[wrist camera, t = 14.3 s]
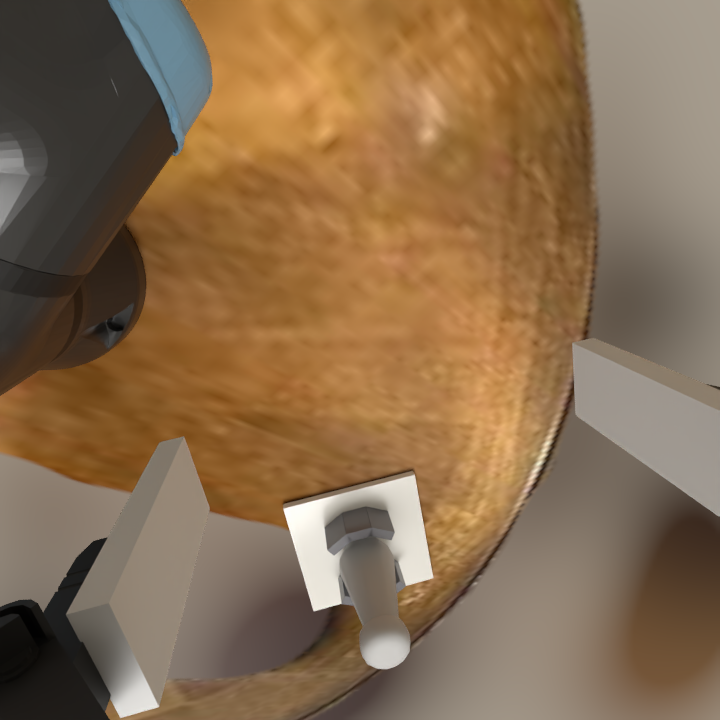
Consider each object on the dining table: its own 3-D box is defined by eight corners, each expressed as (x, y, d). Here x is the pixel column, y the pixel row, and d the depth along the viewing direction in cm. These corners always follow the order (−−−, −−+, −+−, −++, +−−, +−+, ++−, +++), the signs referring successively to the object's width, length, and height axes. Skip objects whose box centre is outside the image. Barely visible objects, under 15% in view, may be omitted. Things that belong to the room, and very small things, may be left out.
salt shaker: (374, 576, 52) (401, 688, 40) (328, 563, 51) (341, 675, 38) (398, 534, 51) (433, 637, 39) (351, 519, 49) (372, 621, 37)
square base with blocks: (313, 605, 53) (315, 638, 49) (283, 504, 49) (283, 530, 45) (431, 572, 54) (442, 602, 50) (412, 470, 50) (423, 493, 46)
